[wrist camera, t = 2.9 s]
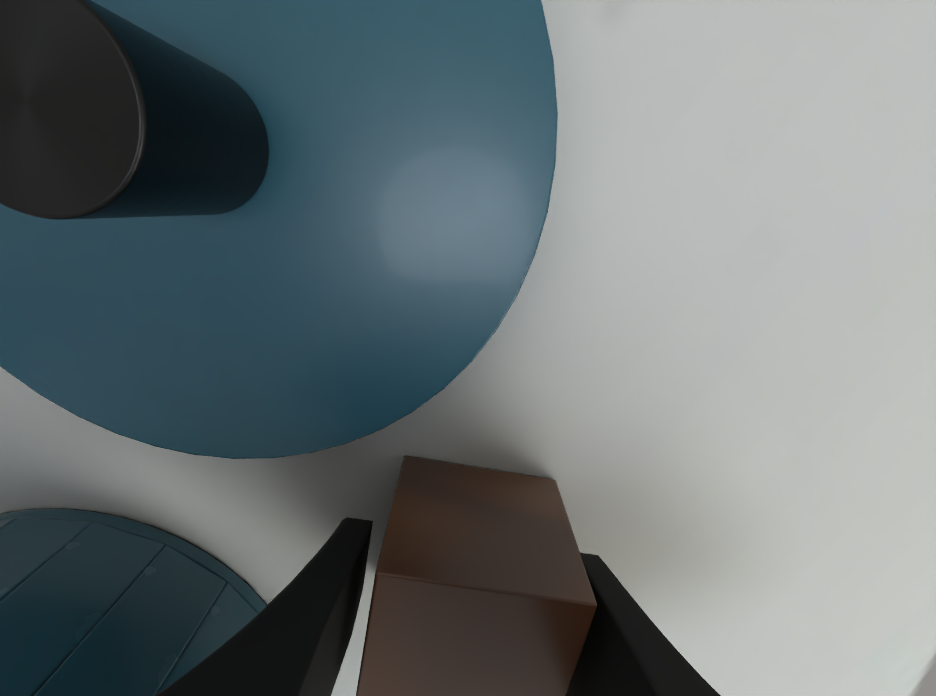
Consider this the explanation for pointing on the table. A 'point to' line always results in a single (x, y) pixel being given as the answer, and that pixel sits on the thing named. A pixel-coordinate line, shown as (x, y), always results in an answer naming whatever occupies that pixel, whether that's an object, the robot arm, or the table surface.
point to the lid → (265, 208)
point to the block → (475, 588)
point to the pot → (108, 605)
